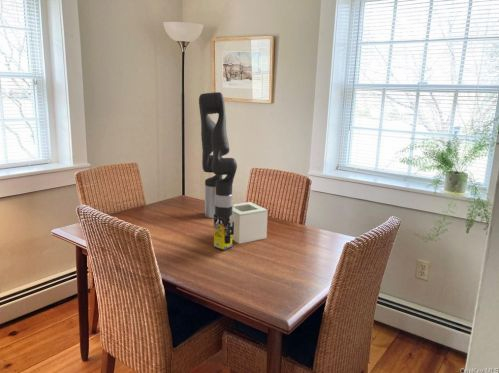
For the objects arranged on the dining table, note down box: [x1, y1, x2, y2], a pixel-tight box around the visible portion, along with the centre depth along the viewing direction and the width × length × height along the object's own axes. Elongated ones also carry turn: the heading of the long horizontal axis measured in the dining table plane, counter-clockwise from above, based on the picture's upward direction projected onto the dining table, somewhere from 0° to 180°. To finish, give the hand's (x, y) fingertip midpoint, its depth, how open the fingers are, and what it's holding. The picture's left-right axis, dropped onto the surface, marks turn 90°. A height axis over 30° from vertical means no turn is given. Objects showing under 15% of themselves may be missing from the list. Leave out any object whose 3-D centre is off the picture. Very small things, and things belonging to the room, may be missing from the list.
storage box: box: [230, 201, 269, 245], centre depth 194 cm, size 15×15×14 cm
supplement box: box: [213, 222, 233, 252], centre depth 179 cm, size 6×6×11 cm
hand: (223, 240), depth 180 cm, fingers closed on supplement box, 7 cm apart
